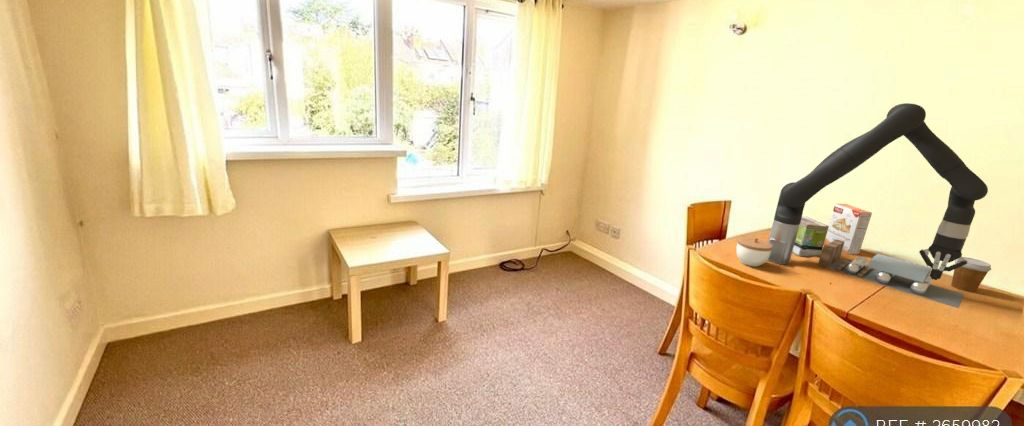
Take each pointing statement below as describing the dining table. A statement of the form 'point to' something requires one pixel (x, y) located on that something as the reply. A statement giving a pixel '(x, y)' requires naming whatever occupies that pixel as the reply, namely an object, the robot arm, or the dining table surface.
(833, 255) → the wooden stops
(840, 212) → the cracker box
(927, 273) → the slab
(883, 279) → the bed rollers
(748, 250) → the lidded bowl
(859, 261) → the roller
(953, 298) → the mat
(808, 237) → the tea box
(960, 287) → the disposable coffee cup
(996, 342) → the dining table surface
